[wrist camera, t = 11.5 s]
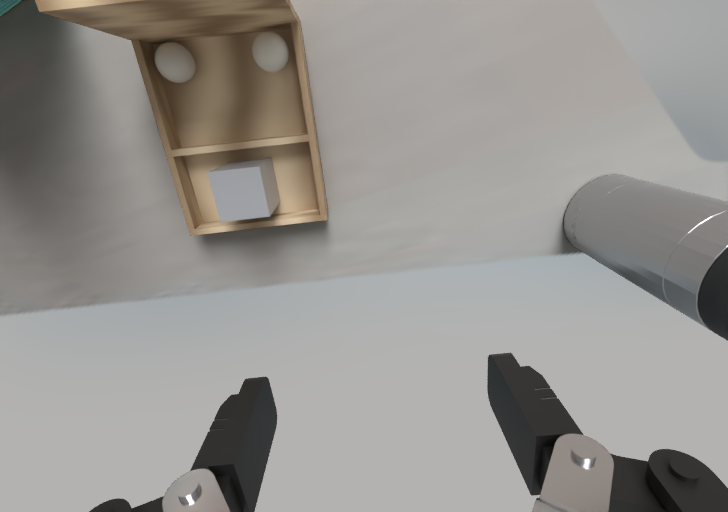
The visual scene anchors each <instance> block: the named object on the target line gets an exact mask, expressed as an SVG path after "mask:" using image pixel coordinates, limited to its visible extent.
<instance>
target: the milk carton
mask: <svg viewBox="0 0 728 512" xmlns="http://www.w3.org/2000/svg"><path fill="white" fill-rule="evenodd" d="M21 1H22V0H0V16H2V15H3V14H4V13H6V12H7V11H9V10H10V9H11V8H13V7H14V6H15V5H17V4H18V3H19V2H21Z"/></svg>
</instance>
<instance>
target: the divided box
mask: <svg viewBox="0 0 728 512" xmlns="http://www.w3.org/2000/svg"><path fill="white" fill-rule="evenodd" d="M35 2H36V5H37V7H38V10H39V12H41V13H45V14H48V15H51V16H54V17H57V18H61V19H64V20H67V21H70V22H74V23H77V24H80V25H83V26H87V27H90V28H93V29H96V30H99V31H103V32H106V33H109V34H112V35H116V36H119V37H122V38H125V39H129V40H131V41H132V44H133V48H134V51H135V54H136V57H137V61H138V64H139V67H140V71H141V74H142V77H143V81H144V84H145V87H146V90H147V94H148V97H149V100H150V104H151V107H152V110H153V114H154V117H155V120H156V123H157V127H158V130H159V133H160V137H161V140H162V143H163V147H164V150H165V153H166V156H167V160H168V163H169V166H170V170H171V173H172V176H173V180H174V183H175V186H176V189H177V193H178V196H179V199H180V203H181V206H182V209H183V213H184V216H185V219H186V222H187V226H188V229H189V232H190V236H193V235H201V234H210V233H219V232H227V231H236V230H245V229H253V228H262V227H271V226H279V225H288V224H297V223H305V222H314V221H323V220H327V218H328V206H327V199H326V192H325V186H324V179H323V172H322V165H321V158H320V151H319V145H318V138H317V131H316V124H315V117H314V110H313V104H312V97H311V90H310V83H309V76H308V69H307V63H306V56H305V49H304V42H303V35H302V28H301V22H300V19H299V17H298V15H297V14H296V12H295V10H294V8H293V6H292V4H291V2H290V0H35ZM265 31H272V32H275V33H277V34H279V35H280V36H282V37H283V39H284V40H285V41H286V43H287V45H288V48H289V60H288V63H287V65H286V66H285V68H284V69H282V70H281V71H279V72H275V73H270V72H266V71H264V70H263V69H261V68H260V67H259V66H258V65H257V64H256V62H255V60H254V58H253V55H252V44H253V41H254V39H255V38H256V36H257V35H258V34H260V33H262V32H265ZM166 42H175V43H179V44H181V45H183V46H184V47H186V48H187V49H188V50H189V51H190V53H191V54H192V56H193V58H194V60H195V65H196V69H195V73H194V75H193V77H192V78H191V79H190V80H189V81H187V82H185V83H174V82H171V81H169V80H167V79H166V78H164V77H163V76H162V75H161V74H160V72H159V71H158V69H157V67H156V64H155V52H156V50H157V48H158V47H159V46H160V45H162V44H163V43H166ZM271 157H272V160H273V165H274V170H275V175H276V180H277V186H278V191H279V196H280V202H279V204H278V205H277V207H276V208H275V210H274V211H273V213H272V214H271V215H270V217H261V218H253V219H244V220H235V221H226V222H220V219H219V215H218V211H217V207H216V204H215V200H214V196H213V192H212V188H211V185H210V181H209V177H208V173H207V172H209V171H211V170H213V169H215V168H217V167H219V166H221V165H223V164H225V163H228V162H236V161H245V160H253V159H262V158H271Z"/></svg>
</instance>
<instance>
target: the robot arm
mask: <svg viewBox="0 0 728 512" xmlns="http://www.w3.org/2000/svg"><path fill="white" fill-rule="evenodd" d="M564 230H565V234H566V236H567V238H568V240H569V242H570V243H571V244H572V245H573V246H574V247H576V248H577V249H579V250H581V251H582V252H584V253H585V254H587V255H589V256H590V257H592V258H593V259H595V260H596V261H598V262H599V263H601V264H603V265H604V266H606V267H608V268H609V269H611V270H613V271H614V272H616V273H618V274H619V275H621V276H622V277H624V278H626V279H627V280H629V281H631V282H632V283H634V284H635V285H637V286H639V287H640V288H642V289H644V290H645V291H647V292H649V293H650V294H652V295H653V296H655V297H657V298H658V299H660V300H662V301H663V302H665V303H667V304H668V305H670V306H671V307H673V308H675V309H676V310H678V311H680V312H681V313H683V314H685V315H686V316H688V317H690V318H691V319H693V320H695V321H696V322H698V323H699V324H701V325H703V326H704V327H706V328H708V329H709V330H711V331H713V332H714V333H716V334H718V335H719V336H721V337H723V338H725V339H726V340H728V202H726V201H722V200H718V199H714V198H710V197H706V196H702V195H699V194H695V193H691V192H687V191H683V190H679V189H675V188H671V187H667V186H663V185H659V184H655V183H651V182H647V181H643V180H639V179H635V178H631V177H627V176H623V175H606V176H603V177H600V178H597V179H595V180H593V181H591V182H589V183H588V184H586V185H585V186H584V187H583V188H581V189H580V190H579V191H578V192H577V193H576V195H575V196H574V197H573V199H572V200H571V202H570V203H569V205H568V208H567V210H566V213H565V218H564ZM488 396H489V401H490V405H491V407H492V410H493V412H494V414H495V416H496V418H497V421H498V423H499V425H500V427H501V429H502V432H503V434H504V436H505V438H506V441H507V443H508V445H509V447H510V449H511V452H512V454H513V456H514V458H515V460H516V462H517V465H518V467H519V469H520V471H521V474H522V476H523V478H524V480H525V483H526V485H527V487H528V489H529V491H530V494H531V495H540V497H539V498H537V499H536V501H535V504H534V507H533V510H532V512H728V488H727V487H726V486H725V485H724V484H723V482H722V481H721V480H720V479H719V478H718V477H717V476H716V475H715V474H714V473H713V472H712V471H711V470H710V469H709V468H708V467H707V466H706V465H705V464H703V463H702V462H700V461H699V460H697V459H695V458H694V457H692V456H690V455H688V454H685V453H682V452H679V451H676V450H670V449H661V450H657V451H654V452H653V453H652V454H651V455H650V457H649V460H648V462H647V461H642V460H636V459H631V458H625V457H620V456H616V455H613V454H610V453H609V452H608V450H607V449H606V448H605V447H604V446H603V445H601V444H600V443H599V442H597V441H595V440H594V439H592V438H590V437H587V436H584V435H583V433H582V432H581V431H580V429H579V428H578V426H577V425H576V424H575V422H574V420H573V419H572V418H571V416H570V415H569V413H568V412H567V410H566V409H565V408H564V406H563V405H562V403H561V402H560V400H559V399H557V396H556V395H555V393H554V392H553V391H552V389H550V386H549V385H548V384H547V382H546V380H545V379H544V378H543V376H542V375H541V374H539V373H538V372H536V371H535V370H534V369H532V368H531V367H530V366H525V367H520V365H519V364H518V363H517V361H516V359H515V358H514V356H513V355H512V354H511V353H503V354H493V355H489V357H488ZM276 425H277V412H276V406H275V403H274V398H273V394H272V391H271V387H270V383H269V379H268V378H267V377H258V378H249V379H245V381H244V382H243V385H242V387H241V389H240V392H239V394H237V395H231V396H230V397H229V398H228V399H227V400H226V401H225V402H224V403H223V404H222V405H221V406H220V408H219V410H218V412H217V415H216V417H215V421H213V423H212V425H211V427H210V432H208V434H207V436H206V438H205V440H204V442H203V445H202V447H201V449H200V451H199V453H198V455H197V457H196V460H195V462H194V464H193V466H192V469H191V470H190V471H189V472H187V473H185V474H183V475H182V476H180V477H179V478H178V479H177V480H175V481H174V482H173V483H172V484H171V486H170V487H169V488H168V490H167V491H166V493H165V495H164V496H163V497H160V498H158V499H156V500H154V501H150V502H148V503H145V504H143V505H140V506H137V507H135V508H131V506H130V504H129V503H128V502H127V501H126V500H124V499H113V500H109V501H106V502H104V503H102V504H100V505H98V506H97V507H95V508H94V509H92V510H91V511H90V512H254V511H255V507H256V503H257V499H258V495H259V491H260V488H261V483H262V480H263V476H264V472H265V468H266V464H267V461H268V457H269V453H270V449H271V445H272V441H273V437H274V434H275V430H276Z"/></svg>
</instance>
